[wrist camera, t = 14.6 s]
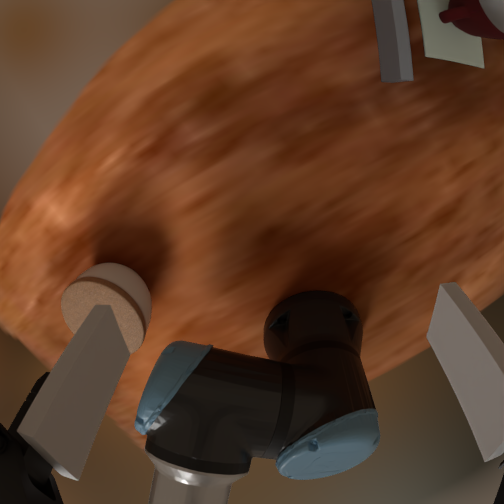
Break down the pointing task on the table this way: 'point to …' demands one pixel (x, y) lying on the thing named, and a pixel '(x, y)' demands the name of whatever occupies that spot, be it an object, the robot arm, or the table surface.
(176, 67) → the table surface
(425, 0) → the corner arena
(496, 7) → the mug
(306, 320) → the robot arm
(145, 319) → the white lidded pot
